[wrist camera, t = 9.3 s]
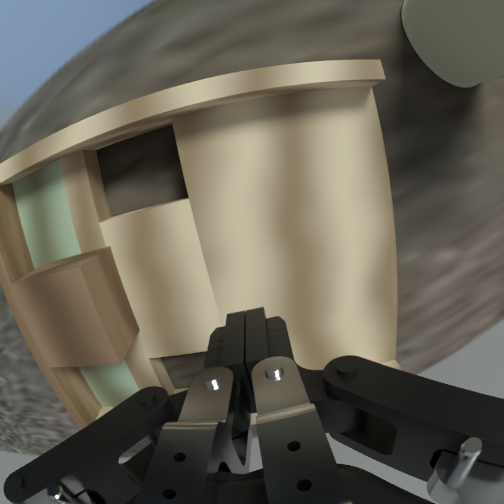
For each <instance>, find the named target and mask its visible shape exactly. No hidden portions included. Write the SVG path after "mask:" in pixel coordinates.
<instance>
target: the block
mask: <svg viewBox="0 0 504 504" xmlns="http://www.w3.org/2000/svg"><path fill="white" fill-rule="evenodd" d="M11 286H12V288H13V291H14V293H15V296H16V298H17V301H18V303H19V306H20V308H21V311H22V313H23V315H24V317H25V320H26V322H27V324H28V326H29V328H30V330H31V333H32V335H33V337H34V339H35V341H36V343H37V345H38V347H39V349H40V351H41V352H42V354H43V356H44V358H45V360H46V362H47V364H48V365H49V367H80V366H100V365H115V364H121V363H122V361H123V359H124V357H125V356H126V354H127V352H128V350H129V348H130V346H131V345H132V343H133V341H134V339H135V337H136V336H137V334H138V332H139V330H140V329H139V326H138V324H137V321H136V319H135V316H134V314H133V311H132V308H131V306H130V303H129V300H128V298H127V295H126V292H125V289H124V287H123V284H122V281H121V278H120V275H119V272H118V269H117V266H116V263H115V260H114V257H113V253H112V250H111V247H110V246H108V247H104V248H100V249H97V250H93V251H89V252H85V253H82V254H78V255H74V256H71V257H67V258H63V259H60V260H56V261H53V262H49V263H46V264H43V265H41V266H40V267H38V268H37V269H35V270H33V271H32V272H30V273H28V274H27V275H25V276H24V277H22V278H20V279H19V280H17V281H16V282H14V283H13V284H11Z"/></svg>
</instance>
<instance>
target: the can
mask: <svg viewBox="0 0 504 504" xmlns="http://www.w3.org/2000/svg"><path fill="white" fill-rule="evenodd" d="M401 18H402V23H403V27H404V30H405V33H406V35H407V38H408V40H409V42H410V43H411V45H412V47H413V48H414V50H415V52H416V53H417V54H418V56H419V57H420V58H421V60H422V61H423V62H424V63H425V64H426V65H427V66H428V67H429V68H430V69H431V70H432V71H433V72H434V73H435V74H436V75H438V76H439V77H440V78H442V79H443V80H445V81H446V82H448V83H450V84H452V85H455V86H458V87H464V88H468V87H473V86H475V85H477V84H479V83H482V82H486V81H490V80H494V79H499V78H503V77H504V0H405V1H404V3H403V5H402V10H401Z"/></svg>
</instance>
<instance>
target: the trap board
mask: <svg viewBox="0 0 504 504" xmlns="http://www.w3.org/2000/svg"><path fill="white" fill-rule="evenodd" d="M385 79H386V78H385V75H384V71H383V67H382V64H381V61H380V60H334V61H318V62H306V63H296V64H287V65H279V66H271V67H264V68H258V69H252V70H246V71H241V72H235V73H230V74H225V75H221V76H216V77H212V78H207V79H203V80H199V81H195V82H191V83H187V84H184V85H180V86H176V87H173V88H169V89H166V90H163V91H159V92H156V93H153V94H150V95H147V96H144V97H141V98H138V99H135V100H132V101H129V102H127V103H124V104H121V105H118V106H116V107H113V108H111V109H108V110H106V111H103V112H101V113H98V114H96V115H93V116H91V117H89V118H86V119H84V120H82V121H80V122H77V123H75V124H73V125H71V126H69V127H67V128H65V129H63V130H60V131H58V132H56V133H54V134H52V135H50V136H49V137H47V138H45V139H43V140H41V141H39V142H37V143H35V144H33V145H32V146H30V147H28V148H26V149H25V150H23V151H21V152H19V153H18V154H16V155H14V156H13V157H11V158H9V159H8V160H6V161H4V162H3V163H1V164H0V283H1V286H2V288H3V291H4V294H5V296H6V299H7V301H8V304H9V306H10V308H11V311H12V313H13V315H14V318H15V320H16V322H17V324H18V326H19V329H20V331H21V333H22V335H23V337H24V339H25V341H26V343H27V345H28V347H29V349H30V351H31V353H32V354H33V356H34V358H35V360H36V362H37V364H38V365H39V367H40V369H41V371H42V372H43V374H44V376H45V377H46V379H47V381H48V382H49V384H50V386H51V387H52V389H53V390H54V392H55V394H56V395H57V397H58V398H59V400H60V401H61V403H62V404H63V406H64V407H65V409H66V410H67V412H68V413H69V414H70V416H71V417H72V419H73V420H74V421H75V423H76V424H77V425H78V427H79V428H80V429H81V430H82V429H83V428H85V427H86V426H88V425H89V424H91V423H92V422H94V421H95V420H97V419H98V418H100V417H101V416H103V415H104V414H105V413H107V412H108V411H110V410H111V409H113V408H114V407H116V406H117V405H119V404H120V403H121V402H123V401H124V400H126V399H127V398H129V397H130V396H132V395H133V394H134V393H136V392H137V391H139V390H141V389H143V388H146V387H150V386H159V387H162V388H164V389H165V390H166V391H167V393H168V395H173V394H176V393H179V392H182V391H185V390H187V389H189V388H181V389H175V388H174V386H173V384H172V382H171V380H170V377H169V375H168V373H167V371H166V369H165V366H164V364H163V362H162V360H161V357H167V356H175V355H182V354H190V353H197V352H204V351H208V350H207V348H208V344H209V338H210V335H211V334H212V332H213V331H214V330H215V329H216V328H217V327H223V326H225V324H226V316H227V314H229V313H234V312H239V311H245V312H246V310H250V309H255V308H260V307H264V310H265V314H266V318H270V317H275V316H279V317H281V318H282V319H283V320H284V321H285V322H286V326H287V330H288V335H289V339H290V343H291V348H292V352H293V356H294V360H295V362H296V363H297V364H298V365H299V366H301V367H303V368H306V369H310V370H324V367H325V366H326V365H327V364H328V363H329V362H330V361H331V360H333V359H335V358H337V357H341V356H346V355H354V356H359V357H362V358H365V359H368V360H371V361H374V362H377V363H380V364H383V365H386V366H389V367H392V368H395V369H398V370H402V369H401V367H400V366H399V365H398V363H397V362H396V360H395V353H396V335H397V258H396V240H395V226H394V215H393V205H392V196H391V187H390V180H389V172H388V166H387V159H386V153H385V147H384V142H383V136H382V131H381V126H380V121H379V116H378V112H377V107H376V103H375V99H374V94H373V90H372V86H374V85H376V84H377V83H379V82H381V81H383V80H385ZM170 125H173V129H174V134H175V138H176V143H177V148H178V153H179V157H180V162H181V166H182V171H183V175H184V179H185V184H186V188H187V192H188V197H186V198H182V199H178V200H174V201H170V202H166V203H162V204H158V205H154V206H151V207H147V208H143V209H140V210H136V211H132V212H129V213H125V214H122V215H118V216H115V217H111V213H110V209H109V205H108V201H107V197H106V193H105V189H104V185H103V180H102V176H101V171H100V166H99V162H98V157H97V151H96V150H98V149H101V148H103V147H106V146H109V145H111V144H114V143H117V142H120V141H123V140H126V139H128V138H131V137H134V136H137V135H140V134H144V133H147V132H150V131H153V130H156V129H160V128H163V127H166V126H170ZM108 246H110V247H111V250H112V253H113V257H114V260H115V263H116V266H117V269H118V272H119V275H120V278H121V281H122V284H123V287H124V289H125V292H126V295H127V298H128V300H129V303H130V306H131V308H132V311H133V314H134V316H135V319H136V321H137V324H138V326H139V329H140V330H139V332H138V334H137V336H136V337H135V339H134V341H133V343H132V345H131V346H130V348H129V350H128V352H127V354H126V356H125V357H124V359H123V361H122V363H121V364H115V365H100V366H80V367H49V365H48V364H47V362H46V360H45V358H44V356H43V354H42V352H41V351H40V349H39V347H38V345H37V343H36V341H35V339H34V337H33V335H32V333H31V330H30V328H29V326H28V324H27V322H26V320H25V317H24V315H23V313H22V311H21V308H20V306H19V303H18V301H17V298H16V296H15V293H14V291H13V288H12V286H11V284H13V283H14V282H16V281H17V280H19V279H20V278H22V277H24V276H25V275H27V274H28V273H30V272H32V271H33V270H35V269H37V268H38V267H40V266H41V265H43V264H46V263H49V262H53V261H56V260H60V259H63V258H67V257H71V256H74V255H78V254H82V253H85V252H89V251H93V250H97V249H100V248H104V247H108ZM402 371H403V370H402ZM257 416H258V415H257V413H252V414H251V425H253V424H256V417H257Z"/></svg>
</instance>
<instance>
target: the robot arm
mask: <svg viewBox="0 0 504 504" xmlns="http://www.w3.org/2000/svg"><path fill="white" fill-rule="evenodd" d="M207 350H208V351H207V353H206V358H205V364H204V369H203V370H202V371H200V372H199V373H197V374H196V375H195V376H194V377H193V379H192V381H191V384H190V387H189V389H187V390H185V391H182V392H179V393H176V394H173V395H168V393H167V391H166V390H165V389H164V388H162V387H159V386H150V387H146V388H143V389H141V390H139V391H137V392H136V393H134V394H133V395H132V396H130V397H129V398H127V399H126V400H124V401H123V402H121V403H120V404H119V405H117V406H116V407H114V408H113V409H111V410H110V411H108V412H107V413H105V414H104V415H103V416H101V417H100V418H98V419H97V420H95V421H94V422H92V423H91V424H89V425H88V426H86V427H85V428H83V429H82V430H80V431H79V432H77V433H75V434H74V435H72V436H71V437H69V438H68V439H66V440H65V441H63V442H62V443H60V444H58V445H57V446H55V447H54V448H52V449H51V450H49V451H47V452H46V453H44V454H43V455H41V456H39V457H38V458H36V459H34V460H33V461H31V462H30V463H28V464H26V465H25V466H23V467H21V468H20V469H18V470H16V471H15V472H13V473H12V474H10V475H9V477H8V478H7V479H6V481H5V483H4V494H5V496H6V498H7V499H8V500H9V501H10V502H12V503H13V504H435V503H433V502H430V501H428V500H426V499H423V498H421V497H419V496H416V495H414V494H412V493H410V492H408V491H406V490H404V489H401V488H399V487H397V486H395V485H393V484H391V483H389V482H387V481H385V480H383V479H381V478H379V477H378V476H376V475H374V474H372V473H370V472H368V471H366V470H363V469H361V468H358V467H354V466H350V465H344V464H337V463H336V461H335V458H334V455H333V452H332V450H331V447H330V445H329V442H328V439H327V437H326V434H325V433H329V434H330V436H331V437H332V438H333V439H335V440H337V441H338V442H340V443H342V444H344V445H346V446H348V447H350V448H352V449H354V450H356V451H358V452H360V453H362V454H364V455H366V456H368V457H370V458H372V459H374V460H377V461H379V462H381V463H383V464H385V465H388V466H390V467H392V468H395V469H397V470H399V471H401V472H404V473H406V474H408V475H411V476H414V477H416V478H418V479H421V480H423V481H426V482H427V491H428V494H429V496H430V497H431V498H432V499H433V500H434V501H436V502H438V503H439V504H504V399H501V398H497V397H493V396H489V395H485V394H481V393H477V392H474V391H470V390H466V389H462V388H459V387H455V386H451V385H448V384H444V383H441V382H438V381H434V380H430V379H427V378H424V377H421V376H418V375H414V374H411V373H408V372H405V371H402V370H398V369H395V368H392V367H389V366H386V365H383V364H380V363H377V362H374V361H371V360H368V359H365V358H362V357H359V356H354V355H346V356H341V357H337V358H335V359H333V360H331V361H330V362H329V363H328V364H327V365H326V366H325V367H324V370H310V369H306V368H303V367H301V366H299V365H298V364H297V363H296V362H295V360H294V356H293V352H292V348H291V343H290V339H289V335H288V330H287V326H286V322H285V321H284V320H283V319H282V318H281V317H279V316H275V317H270V318H266V314H265V310H264V307H260V308H255V309H250V310H246V312H245V311H239V312H234V313H229V314H227V316H226V324H225V326H223V327H217V328H216V329H215V330H214V331H213V332H212V334H211V335H210V338H209V344H208V348H207ZM252 413H257V415H258V416H257V417H256V426H257V433H258V439H259V446H260V453H261V459H262V466H263V468H262V469H259V470H256V471H253V472H250V473H249V466H250V454H251V442H252V427H251V414H252ZM145 436H147V437H148V438H149V440H150V441H151V443H150V444H149V445H148V446H146V447H145V448H144V449H143V450H141V451H140V452H139V453H137V454H136V455H135V456H133V457H132V458H131V459H129V460H128V461H127V462H125V463H122V464H119V463H118V460H119V457H120V456H121V454H123V453H124V452H125V451H127V450H128V449H129V448H131V447H132V446H133V445H135V444H136V443H137V442H139V441H140V440H141V439H143V438H144V437H145Z"/></svg>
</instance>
